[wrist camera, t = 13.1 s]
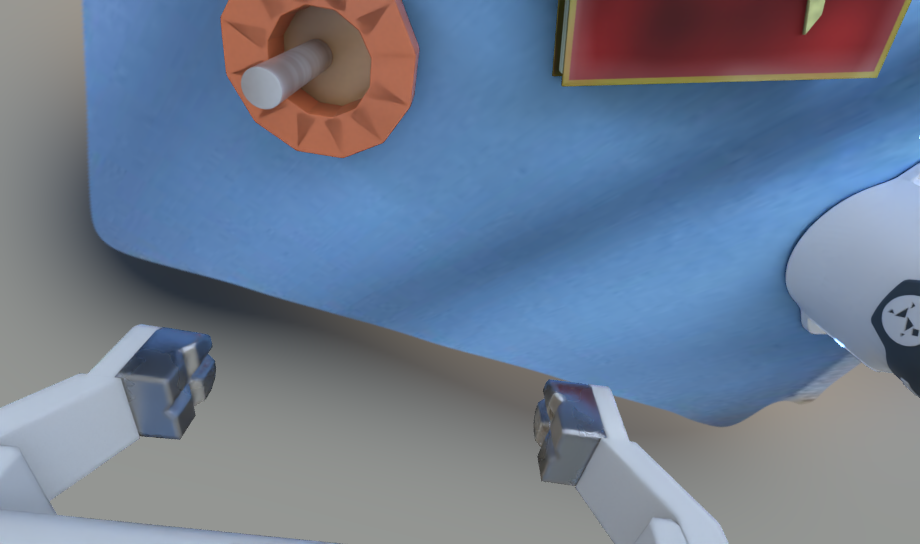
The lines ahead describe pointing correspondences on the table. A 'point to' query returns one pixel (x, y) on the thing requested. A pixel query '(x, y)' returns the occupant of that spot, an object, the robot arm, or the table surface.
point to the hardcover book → (722, 40)
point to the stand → (313, 63)
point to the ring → (300, 115)
